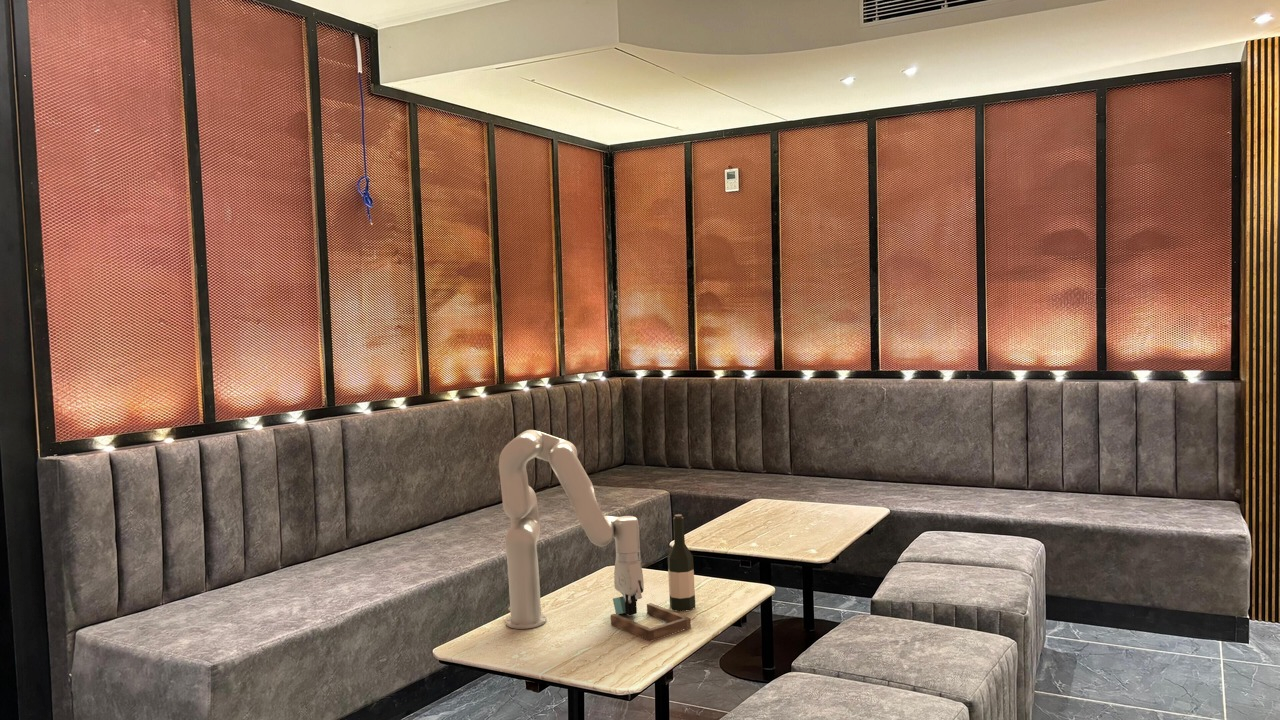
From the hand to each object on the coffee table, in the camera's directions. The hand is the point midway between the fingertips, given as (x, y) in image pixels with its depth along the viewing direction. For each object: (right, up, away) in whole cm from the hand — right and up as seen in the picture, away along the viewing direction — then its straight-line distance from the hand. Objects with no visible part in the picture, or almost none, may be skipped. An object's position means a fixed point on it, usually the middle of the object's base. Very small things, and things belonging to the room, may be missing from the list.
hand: (631, 613), depth 274 cm
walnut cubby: (+5, -1, -7) cm, 9 cm away
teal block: (-2, 0, +3) cm, 4 cm away
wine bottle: (+17, 0, +8) cm, 18 cm away
